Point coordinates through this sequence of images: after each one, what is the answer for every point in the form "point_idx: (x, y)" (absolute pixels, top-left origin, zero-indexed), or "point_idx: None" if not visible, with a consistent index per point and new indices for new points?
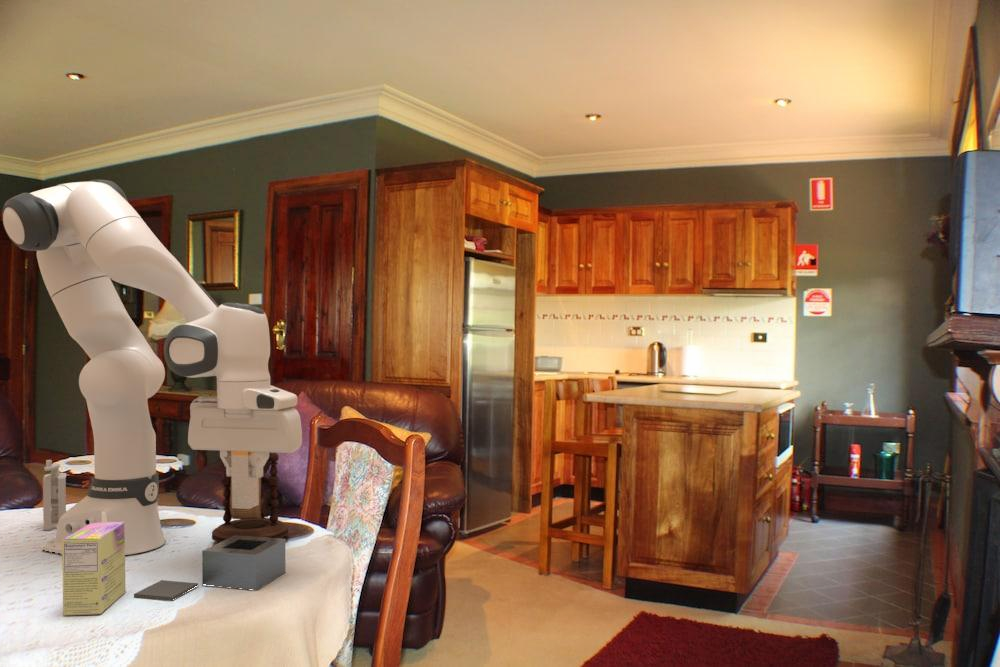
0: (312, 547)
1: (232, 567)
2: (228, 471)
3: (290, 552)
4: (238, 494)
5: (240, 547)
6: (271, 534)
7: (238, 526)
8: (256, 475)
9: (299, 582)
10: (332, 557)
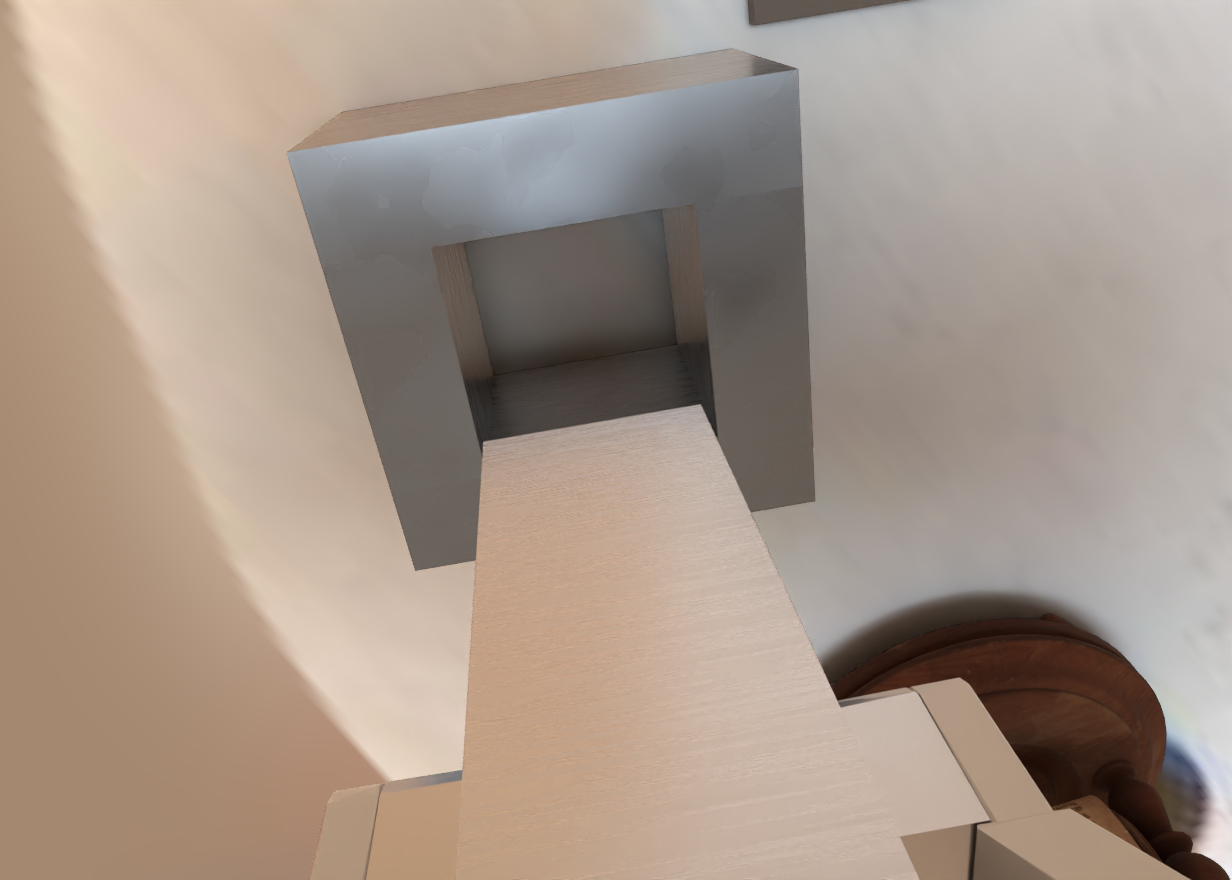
0: None
1: (510, 100)
2: (955, 743)
3: None
4: (636, 502)
5: None
6: None
7: (1030, 770)
8: (359, 810)
9: (226, 350)
10: (388, 722)
